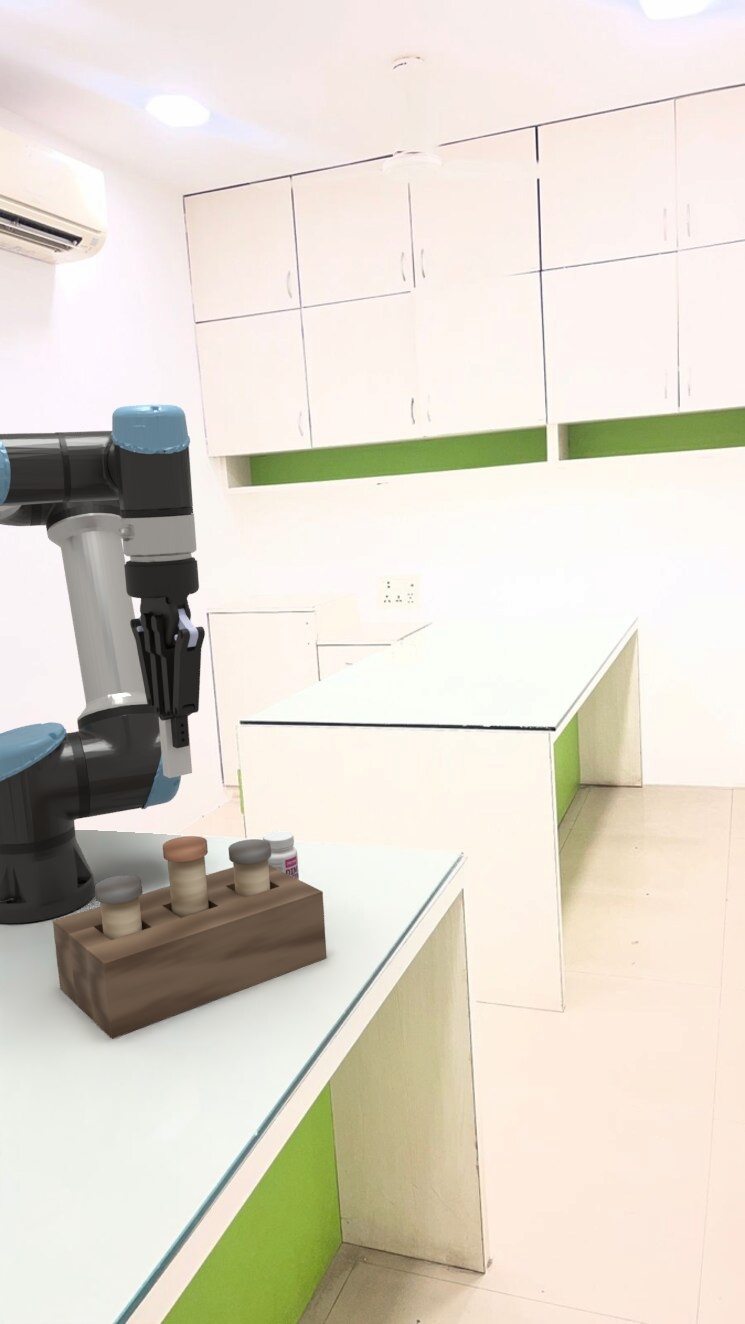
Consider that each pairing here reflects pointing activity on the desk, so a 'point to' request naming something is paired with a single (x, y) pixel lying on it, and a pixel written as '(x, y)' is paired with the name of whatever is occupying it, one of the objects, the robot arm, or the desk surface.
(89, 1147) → the desk surface
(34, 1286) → the desk surface
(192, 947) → the socket board
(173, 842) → the plug middle
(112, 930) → the plug
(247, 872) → the plug
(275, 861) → the pill bottle
